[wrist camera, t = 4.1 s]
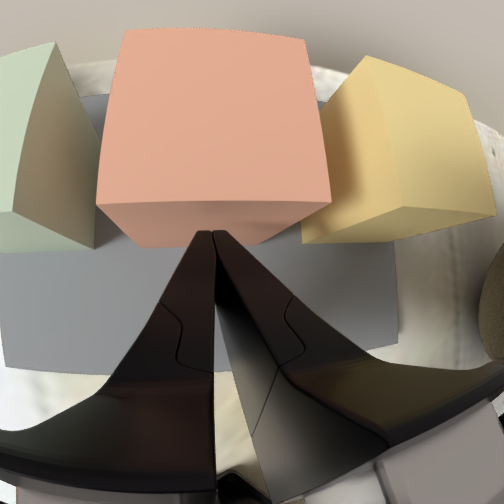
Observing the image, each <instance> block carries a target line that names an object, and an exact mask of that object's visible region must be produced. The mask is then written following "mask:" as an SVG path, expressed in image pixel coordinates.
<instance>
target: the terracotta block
mask: <svg viewBox="0 0 504 504" xmlns="http://www.w3.org/2000/svg"><path fill="white" fill-rule="evenodd" d="M330 203H332V200H331V191H330V183H329V175H328V168H327V160H326V153H325V147H324V140H323V134H322V128H321V121H320V116H319V110H318V104H317V99H316V93H315V88H314V83H313V78H312V73H311V68H310V64H309V59H308V54H307V50H306V46H305V41H304V40H302V39H296V38H291V37H285V36H278V35H272V34H264V33H256V32H247V31H236V30H225V29H204V28H158V29H141V30H127V31H125V34H124V38H123V41H122V45H121V49H120V52H119V56H118V60H117V64H116V68H115V72H114V77H113V81H112V86H111V91H110V96H109V101H108V107H107V112H106V118H105V124H104V131H103V138H102V145H101V153H100V161H99V171H98V182H97V195H96V205H97V206H98V207H99V208H100V209H101V210H102V211H103V212H104V213H105V214H106V215H107V216H108V217H109V218H110V219H111V220H112V221H113V222H114V223H115V224H116V225H117V226H118V227H119V228H120V229H121V230H122V231H123V232H124V233H125V234H126V235H127V236H128V237H129V238H130V239H132V240H133V241H134V242H135V243H136V244H137V245H138V246H139V247H140V248H171V247H188V246H189V244H190V242H191V240H192V238H193V237H194V235H195V233H196V232H197V231H198V230H210V231H211V232H212V231H213V230H226V231H228V232H229V233H230V234H231V235H232V236H233V237H234V238H235V239H236V240H237V241H238V242H239V243H240V244H241V245H258V244H260V243H262V242H263V241H265V240H267V239H269V238H270V237H272V236H274V235H276V234H277V233H279V232H281V231H283V230H284V229H286V228H288V227H290V226H291V225H293V224H295V223H297V222H298V221H300V220H302V219H304V218H305V217H307V216H309V215H311V214H312V213H314V212H316V211H318V210H319V209H321V208H323V207H325V206H326V205H328V204H330Z"/></svg>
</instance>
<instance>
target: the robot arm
mask: <svg viewBox="0 0 504 504" xmlns="http://www.w3.org/2000/svg"><path fill="white" fill-rule="evenodd" d="M215 306H216V311H217V315H218V319H219V323H220V327H221V331H222V335H223V339H224V343H225V347H226V350H227V354H228V358H229V362H230V365H231V369H232V373H233V376H234V380H235V384H236V387H237V391H238V394H239V398H240V401H241V405H242V408H243V412H244V415H245V419H246V422H247V425H248V429H249V432H250V435H251V437H252V442H253V446H254V449H255V452H256V455H257V458H258V461H259V465H260V468H261V471H262V474H263V477H264V480H265V483H266V486H267V489H268V492H269V495H270V497H269V496H267V495H266V494H265V493H263V492H262V491H261V490H259V489H258V488H257V487H256V486H254V485H253V484H252V483H250V482H249V481H248V480H247V479H245V478H244V477H243V476H242V475H240V474H239V473H238V472H237V471H235V470H227V471H225V472H223V473H222V474H220V475H219V476H217V474H216V453H215V423H214V334H215ZM503 391H504V363H499V362H489V363H487V364H485V365H483V366H481V367H479V368H476V369H471V370H449V369H438V368H428V367H419V366H411V365H402V364H395V363H389V362H385V361H382V360H380V359H377V358H375V357H374V356H372V355H370V354H369V353H367V352H366V351H364V350H363V349H362V348H360V347H359V346H358V345H356V344H355V343H354V342H352V341H351V340H350V339H348V338H347V337H345V336H344V335H343V334H341V333H340V332H339V331H337V330H336V329H335V328H333V327H332V326H331V325H330V324H328V323H327V322H326V321H325V320H323V319H322V318H321V317H319V316H318V315H317V314H316V313H315V312H314V311H312V310H311V309H310V308H309V307H308V306H307V305H306V304H304V303H303V302H302V301H301V300H300V299H299V298H298V297H297V296H296V295H293V292H291V291H290V290H289V289H288V288H287V287H286V286H285V285H284V284H283V283H282V282H281V281H280V280H279V279H278V278H277V277H276V276H274V275H273V274H272V273H271V272H270V271H269V270H268V269H267V268H266V267H265V266H264V265H263V264H262V263H261V262H260V261H258V260H257V259H256V258H255V257H254V256H253V255H252V254H251V253H250V252H249V251H248V250H247V249H246V248H245V247H244V246H243V245H241V244H240V243H239V242H238V241H237V240H236V239H235V238H234V237H233V236H232V235H231V234H230V233H229V232H228V231H226V230H213V231H212V232H211V231H210V230H198V231H197V232H196V233H195V235H194V237H193V238H192V240H191V242H190V244H189V246H188V247H187V249H186V251H185V253H184V255H183V256H182V258H181V260H180V262H179V264H178V265H177V267H176V269H175V271H174V273H173V275H172V276H171V278H170V280H169V282H168V284H167V286H166V288H165V289H164V291H163V293H162V295H161V297H160V299H159V301H158V303H157V304H156V306H155V308H154V310H153V312H152V314H151V316H150V317H149V319H148V321H147V323H146V324H145V326H144V328H143V329H142V331H141V332H140V334H139V335H138V337H137V338H136V340H135V341H134V343H133V344H132V346H131V347H130V349H129V350H128V351H127V353H126V354H125V356H124V357H123V359H122V360H121V361H120V363H119V364H118V366H117V367H116V369H115V370H114V372H113V373H112V375H111V376H110V377H109V379H108V380H107V382H106V383H105V384H104V385H103V386H102V387H101V388H100V389H99V390H98V391H97V392H96V393H95V394H94V395H92V396H91V397H89V398H87V399H85V400H83V401H82V402H80V403H78V404H76V405H74V406H72V407H71V408H69V409H67V410H65V411H63V412H61V413H59V414H57V415H55V416H54V417H52V418H50V419H48V420H46V421H44V422H42V423H40V424H38V425H36V426H33V427H31V428H28V429H24V430H19V431H7V430H1V429H0V480H2V481H4V482H6V483H9V484H11V485H13V486H16V504H283V503H287V502H291V501H296V500H300V499H304V501H305V504H504V413H503V414H502V415H500V416H499V417H498V415H497V413H496V411H495V409H494V407H493V405H492V404H491V402H492V401H493V400H494V399H495V398H496V397H498V396H499V395H500V394H501V393H502V392H503ZM229 476H234V477H233V478H228V477H229ZM0 504H8V503H5V502H2V501H0Z"/></svg>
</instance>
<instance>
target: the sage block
mask: <svg viewBox="0 0 504 504" xmlns="http://www.w3.org/2000/svg"><path fill="white" fill-rule="evenodd" d="M100 151H101V141H100V139H99V137H98V135H97V133H96V131H95V129H94V127H93V125H92V123H91V121H90V119H89V117H88V114H87V112H86V110H85V108H84V106H83V104H82V102H81V99H80V97H79V95H78V93H77V91H76V88H75V86H74V84H73V81H72V79H71V77H70V75H69V72H68V70H67V68H66V65H65V63H64V61H63V58H62V55H61V53H60V51H59V48H58V45H57V43H56V42H51V43H47V44H43V45H39V46H35V47H31V48H28V49H24V50H21V51H17V52H14V53H11V54H8V55H5V56H2V57H0V253H27V252H53V251H80V250H94V231H95V207H96V192H97V179H98V169H99V160H100Z"/></svg>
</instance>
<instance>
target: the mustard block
mask: <svg viewBox="0 0 504 504" xmlns="http://www.w3.org/2000/svg"><path fill="white" fill-rule="evenodd" d="M319 116H320V121H321V128H322V134H323V140H324V147H325V153H326V160H327V168H328V175H329V183H330V191H331V200H332V203H330V204H328V205H326V206H325V207H323V208H321V209H319V210H318V211H316V212H314V213H312V214H311V215H309V216H307V217H305V218H304V219H302V220H301V233H302V244H322V243H370V242H391V241H395V240H400V239H404V238H408V237H412V236H416V235H420V234H424V233H428V232H432V231H436V230H440V229H444V228H448V227H452V226H456V225H460V224H464V223H468V222H472V221H476V220H480V219H484V218H488V217H491V216H495V215H497V213H496V207H495V201H494V196H493V191H492V186H491V181H490V177H489V173H488V169H487V165H486V161H485V157H484V153H483V150H482V146H481V143H480V139H479V136H478V133H477V130H476V127H475V124H474V121H473V118H472V115H471V112H470V109H469V106H468V104H467V101H466V99H465V96H464V94H462V93H460V92H458V91H456V90H454V89H452V88H450V87H448V86H446V85H444V84H441V83H439V82H437V81H435V80H432V79H430V78H428V77H425V76H423V75H420V74H418V73H415V72H413V71H410V70H408V69H405V68H402V67H400V66H397V65H394V64H391V63H388V62H385V61H382V60H379V59H376V58H373V57H370V56H367V55H366V56H365V57H364V59H363V60H362V61H361V62H360V63H359V64H358V66H357V67H356V68H355V69H354V70H353V72H352V73H351V74H350V75H349V76H348V77H347V78H346V80H345V81H344V82H343V83H342V84H341V86H340V87H339V88H338V89H337V90H336V92H335V93H334V94H333V95H332V96H331V98H330V99H329V100H328V101H327V102H326V104H325V105H324V106H323V107H322V108H321V110H320V111H319Z"/></svg>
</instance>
